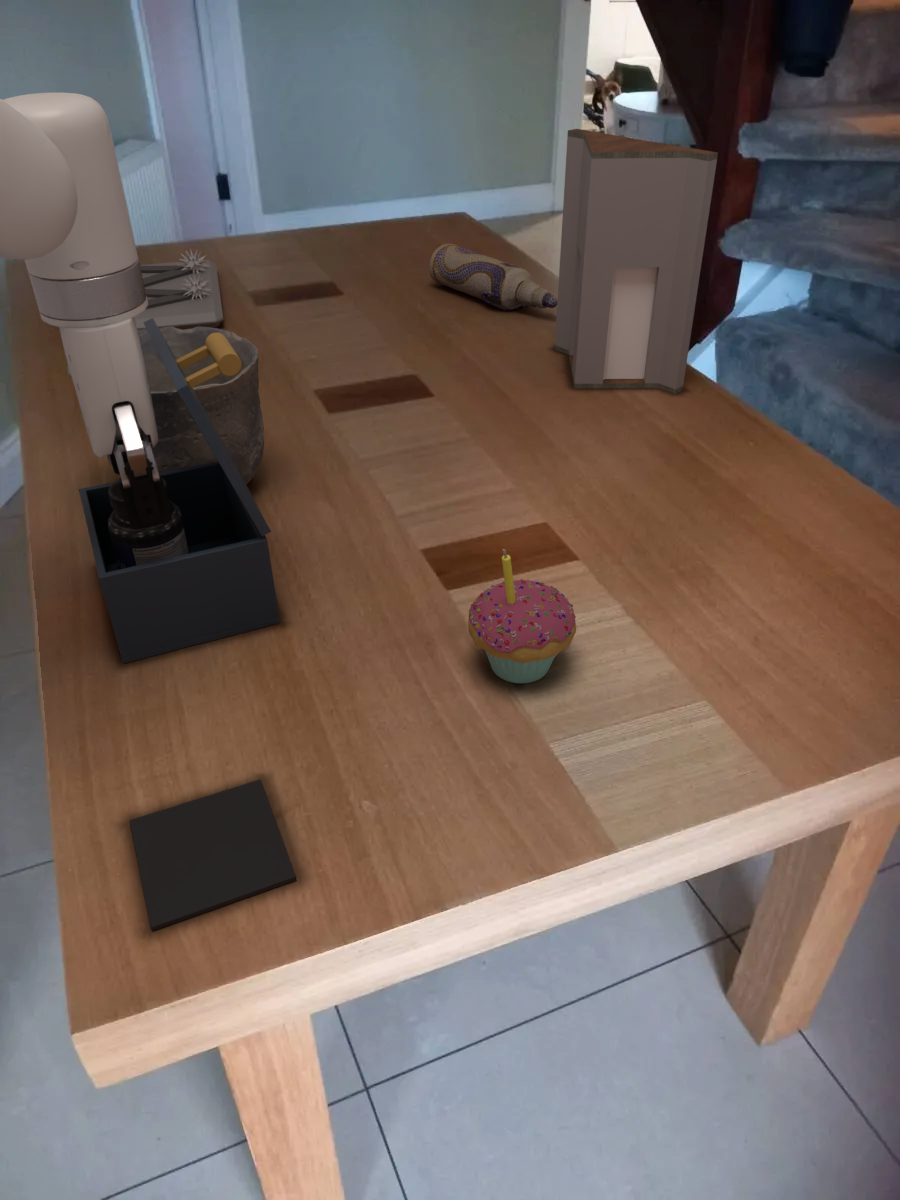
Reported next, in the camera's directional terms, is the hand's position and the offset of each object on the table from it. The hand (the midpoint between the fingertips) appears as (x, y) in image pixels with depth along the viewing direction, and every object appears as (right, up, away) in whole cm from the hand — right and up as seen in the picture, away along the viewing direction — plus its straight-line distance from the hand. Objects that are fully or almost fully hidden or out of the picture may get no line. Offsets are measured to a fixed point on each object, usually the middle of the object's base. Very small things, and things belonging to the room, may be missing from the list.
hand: (142, 496), depth 76 cm
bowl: (-2, +3, +22) cm, 23 cm away
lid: (+5, +5, -1) cm, 8 cm away
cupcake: (+31, -14, -1) cm, 34 cm away
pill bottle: (0, -8, +6) cm, 10 cm away
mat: (+10, -25, -16) cm, 32 cm away
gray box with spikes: (-22, +38, +71) cm, 83 cm away
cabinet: (+45, +21, +46) cm, 67 cm away
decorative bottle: (+32, +39, +70) cm, 86 cm away
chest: (+2, -8, +7) cm, 11 cm away
